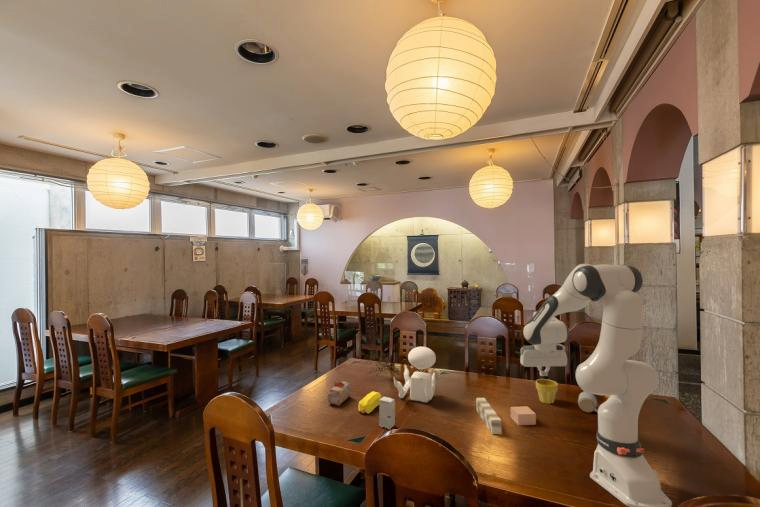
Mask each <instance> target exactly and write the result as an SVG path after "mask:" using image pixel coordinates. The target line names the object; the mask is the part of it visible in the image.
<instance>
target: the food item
mask: <svg viewBox="0 0 760 507" xmlns="http://www.w3.org/2000/svg"><path fill="white" fill-rule="evenodd" d="M350 387H351V385H350V383H349V382H347V381H339V382H337V381H334V386H332V387H331V388H329V390H328V392H327V402H328V403H329V404H331V405H334V404H335V405H334V406H338V407H339V406H341V405H342V404H343V403H344V402H345V401H346V400H348V398H350V397H351V388H350Z"/></svg>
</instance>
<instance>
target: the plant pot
mask: <svg viewBox="0 0 760 507" xmlns="http://www.w3.org/2000/svg"><path fill="white" fill-rule="evenodd" d="M558 386H559V384H558V382H557V381H556V380H555V381H554V380H551V379H545V378H538V379H536V380H535V389H537V394H538V399H539V401H540V402H541V403H543V404H547V405H548V404H551V403H552V404H554V403H555V399H556V394H557V392H558V389H559V387H558ZM552 404H551V405H552Z"/></svg>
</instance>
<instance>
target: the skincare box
mask: <svg viewBox="0 0 760 507" xmlns="http://www.w3.org/2000/svg"><path fill="white" fill-rule="evenodd" d="M378 406H379V407H378V409H379V410H378V412H379V413H378V414H379V415H378V416H379V418H378V424H379V425H378V426H380V428H383V427H385V428H384V429H386V428H387V429H386V430H392V429H393V428H394V427H395V426H394V425H396V424H395V423H396V421H395V419H396V399H394V398H392V397H388V396H382V398H381V399H380V400H379V405H378ZM393 426H394V427H393ZM392 427H393V428H392ZM391 428H392V429H391Z"/></svg>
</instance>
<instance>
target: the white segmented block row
mask: <svg viewBox="0 0 760 507" xmlns="http://www.w3.org/2000/svg"><path fill="white" fill-rule="evenodd" d="M475 404H476V405H475V410H476V412H477V414H478V415H479V416H480V417H479V418H480V419H481V420H482V421H483V423H484V424H485V426H486V427H487V429H488V431H489V433H490V434H491V435H492V434H500V435H502V434H503V433H502V419H501V417H499V415H498V414H497V412H496V411H495V410H494V408H493V407H492V406H491V404H490V403H489V402H488V401H487V399H486V398H485V397H475Z"/></svg>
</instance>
